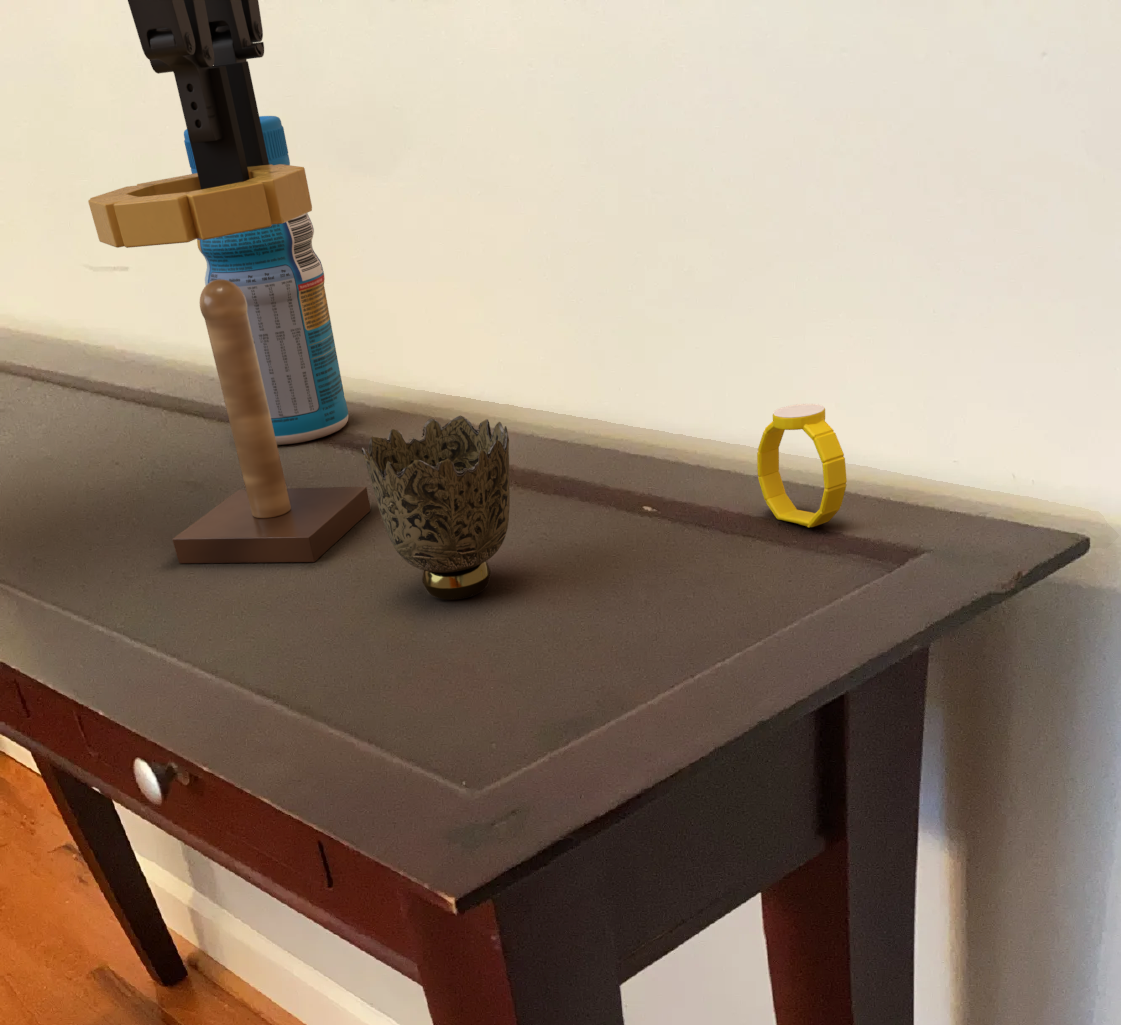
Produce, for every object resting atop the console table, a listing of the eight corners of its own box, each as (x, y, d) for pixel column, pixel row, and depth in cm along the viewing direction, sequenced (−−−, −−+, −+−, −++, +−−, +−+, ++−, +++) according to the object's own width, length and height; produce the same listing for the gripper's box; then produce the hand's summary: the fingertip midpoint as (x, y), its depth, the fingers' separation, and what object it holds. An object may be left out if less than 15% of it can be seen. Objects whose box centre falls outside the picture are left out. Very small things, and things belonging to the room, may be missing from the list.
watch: (856, 527, 74) (859, 412, 71) (817, 540, 73) (818, 425, 70) (785, 504, 79) (784, 395, 75) (747, 516, 78) (745, 406, 74)
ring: (65, 253, 71) (52, 210, 70) (168, 215, 80) (158, 176, 78) (251, 237, 68) (241, 191, 67) (339, 199, 76) (331, 157, 75)
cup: (415, 630, 69) (386, 469, 65) (373, 587, 75) (343, 436, 70) (548, 594, 71) (530, 436, 67) (497, 555, 77) (477, 406, 72)
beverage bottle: (264, 455, 99) (190, 133, 87) (227, 434, 105) (153, 130, 93) (369, 428, 102) (312, 113, 90) (327, 409, 108) (268, 111, 96)
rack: (178, 563, 82) (105, 302, 73) (244, 512, 89) (184, 268, 80) (314, 562, 79) (255, 292, 71) (371, 510, 86) (323, 257, 78)
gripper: (99, -423, 56) (242, 223, 70) (256, -370, 67) (352, 178, 82) (-53, -386, 58) (116, 235, 72) (124, -340, 70) (241, 189, 84)
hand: (241, 204), depth 77 cm, fingers closed on ring, 2 cm apart
